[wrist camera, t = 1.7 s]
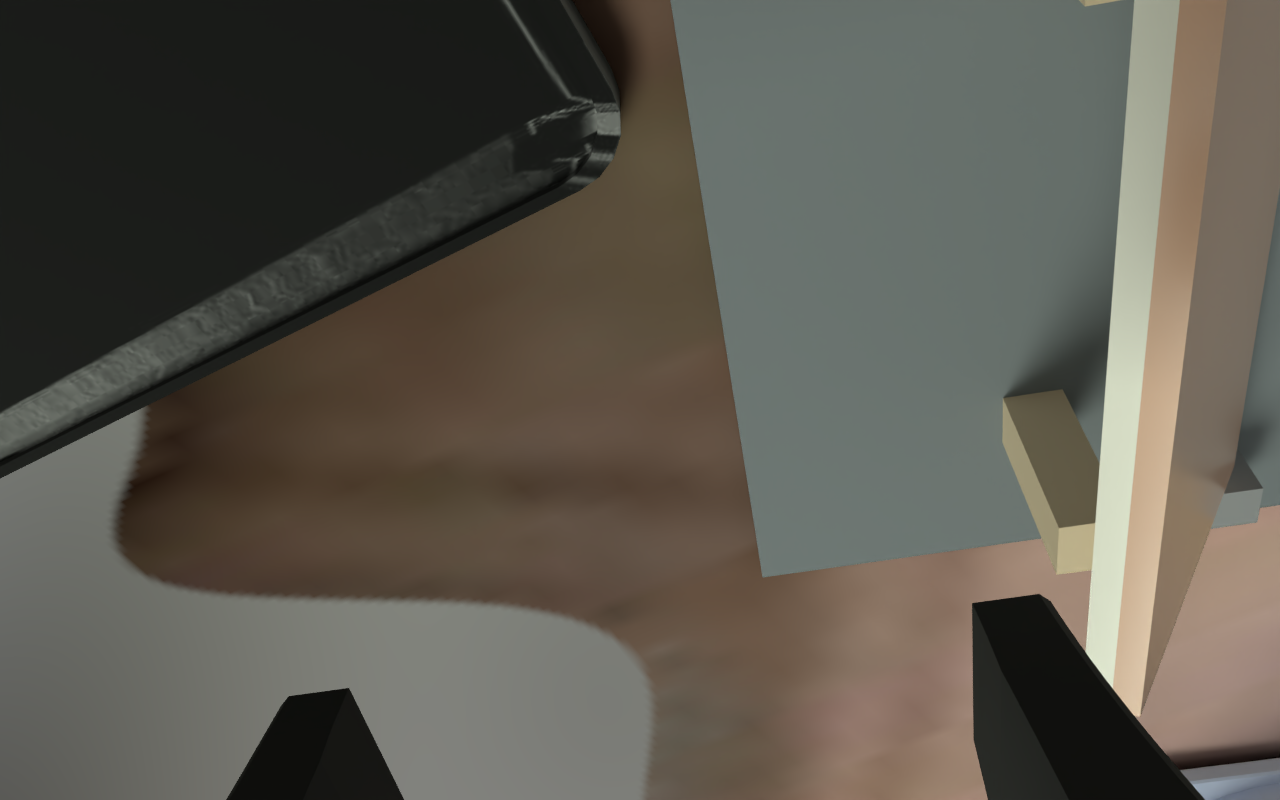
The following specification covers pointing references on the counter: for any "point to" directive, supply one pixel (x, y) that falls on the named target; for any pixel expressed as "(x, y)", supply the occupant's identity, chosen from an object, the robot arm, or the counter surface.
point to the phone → (256, 175)
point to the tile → (1180, 311)
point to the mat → (926, 270)
